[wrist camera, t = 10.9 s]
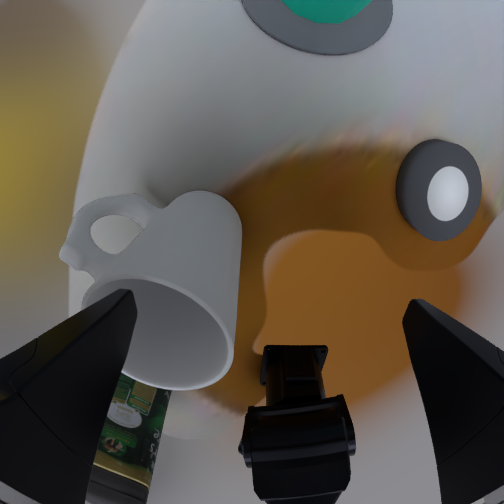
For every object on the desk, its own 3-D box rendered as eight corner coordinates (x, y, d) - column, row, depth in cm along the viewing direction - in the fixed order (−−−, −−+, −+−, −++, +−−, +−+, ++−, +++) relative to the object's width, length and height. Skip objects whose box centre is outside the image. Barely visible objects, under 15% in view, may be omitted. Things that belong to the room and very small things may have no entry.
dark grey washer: (456, 234, 21) (468, 244, 19) (387, 227, 21) (398, 238, 19) (474, 151, 17) (489, 156, 15) (403, 129, 17) (417, 132, 15)
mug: (264, 226, 21) (270, 345, 10) (210, 281, 23) (180, 405, 13) (159, 140, 18) (50, 180, 7) (114, 208, 20) (18, 293, 10)
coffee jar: (166, 397, 32) (138, 522, 16) (111, 375, 31) (66, 494, 14) (185, 359, 28) (149, 522, 12) (118, 330, 27) (51, 483, 10)
